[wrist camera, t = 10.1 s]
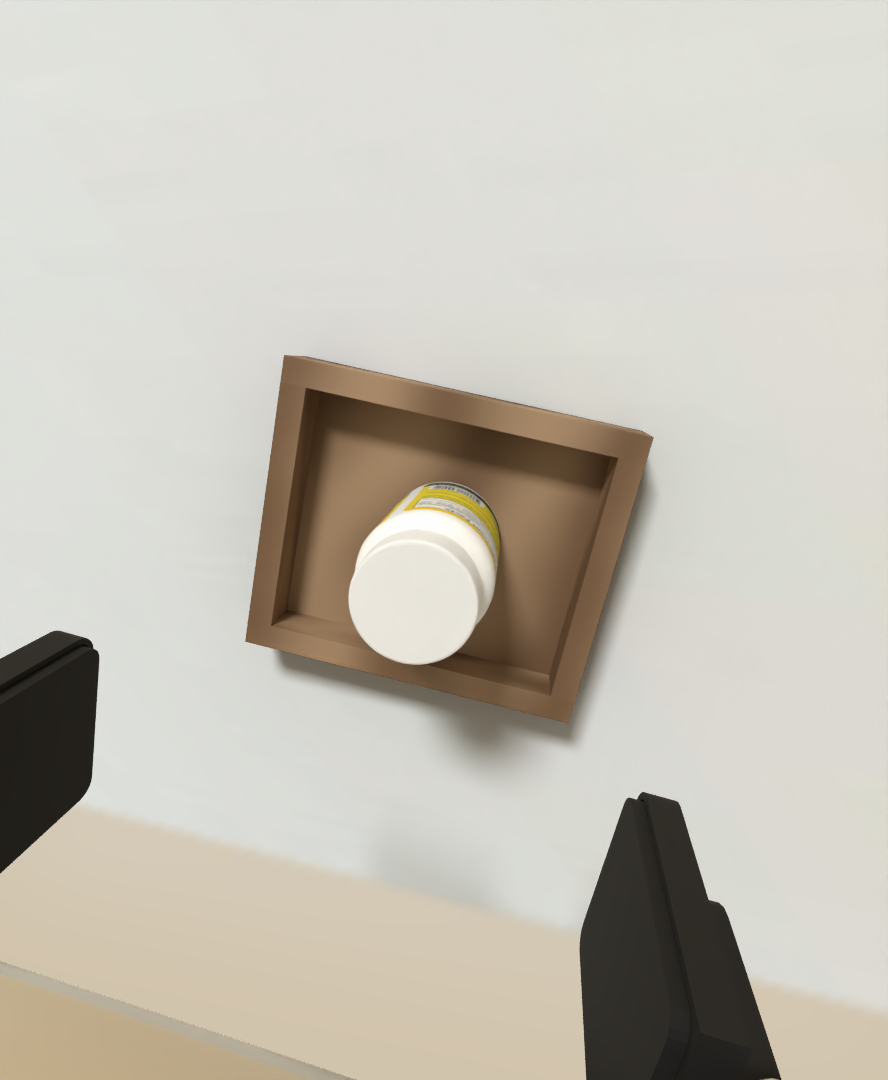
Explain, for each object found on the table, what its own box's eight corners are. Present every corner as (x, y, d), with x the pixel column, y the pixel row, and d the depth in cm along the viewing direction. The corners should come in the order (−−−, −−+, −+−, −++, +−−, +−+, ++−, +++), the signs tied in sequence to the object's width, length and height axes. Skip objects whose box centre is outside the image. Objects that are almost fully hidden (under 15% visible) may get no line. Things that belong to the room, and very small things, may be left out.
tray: (641, 430, 26) (653, 437, 23) (564, 694, 29) (568, 723, 27) (305, 356, 27) (284, 355, 24) (268, 619, 30) (245, 641, 28)
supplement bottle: (416, 604, 28) (372, 697, 20) (371, 505, 27) (305, 562, 19) (519, 565, 27) (515, 647, 19) (475, 462, 26) (452, 502, 18)
